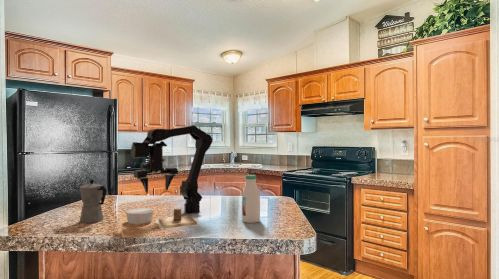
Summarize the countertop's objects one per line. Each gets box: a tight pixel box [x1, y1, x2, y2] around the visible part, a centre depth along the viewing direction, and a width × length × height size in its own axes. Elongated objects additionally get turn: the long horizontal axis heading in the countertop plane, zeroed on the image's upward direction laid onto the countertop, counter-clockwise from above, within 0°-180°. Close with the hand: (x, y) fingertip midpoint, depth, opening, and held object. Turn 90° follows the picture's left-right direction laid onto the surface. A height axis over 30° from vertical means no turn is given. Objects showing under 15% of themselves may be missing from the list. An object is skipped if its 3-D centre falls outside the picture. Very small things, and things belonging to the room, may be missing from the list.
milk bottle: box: [241, 174, 261, 224], centre depth 135 cm, size 8×8×20 cm
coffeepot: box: [79, 179, 108, 224], centre depth 136 cm, size 15×9×18 cm, turn 65°
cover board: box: [158, 208, 198, 228], centre depth 130 cm, size 13×13×6 cm
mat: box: [154, 216, 202, 230], centre depth 130 cm, size 16×16×1 cm
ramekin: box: [125, 207, 154, 225], centre depth 132 cm, size 11×11×5 cm
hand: (156, 191), depth 139 cm, fingers open, 9 cm apart
